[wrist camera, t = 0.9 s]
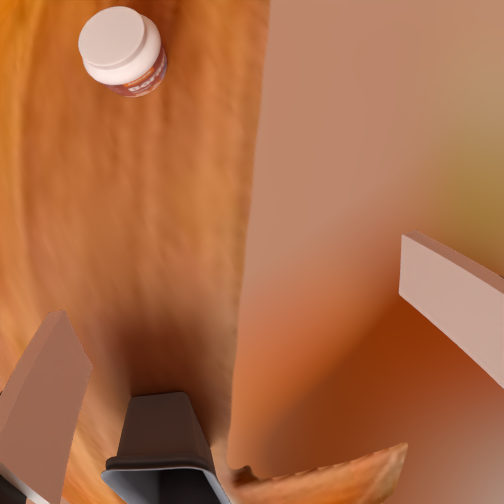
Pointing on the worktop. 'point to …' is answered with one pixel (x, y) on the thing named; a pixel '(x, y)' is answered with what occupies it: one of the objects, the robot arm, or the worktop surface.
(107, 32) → the pill bottle
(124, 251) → the worktop surface
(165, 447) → the storage bin
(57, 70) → the worktop surface
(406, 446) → the worktop surface
